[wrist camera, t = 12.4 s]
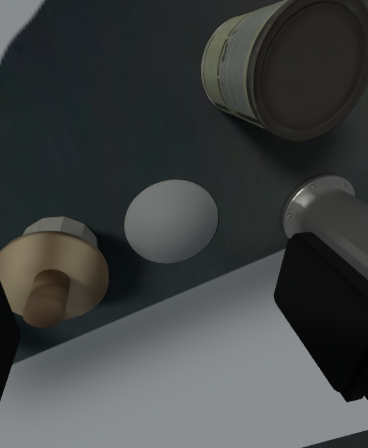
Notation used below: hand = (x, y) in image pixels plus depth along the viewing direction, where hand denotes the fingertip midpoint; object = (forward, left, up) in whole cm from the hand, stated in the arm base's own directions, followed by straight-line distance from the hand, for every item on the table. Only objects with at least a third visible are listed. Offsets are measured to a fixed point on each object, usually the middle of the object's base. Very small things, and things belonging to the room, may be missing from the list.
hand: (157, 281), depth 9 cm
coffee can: (-14, -6, -28) cm, 32 cm away
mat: (-6, +15, -28) cm, 32 cm away
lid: (+10, +17, -22) cm, 30 cm away
